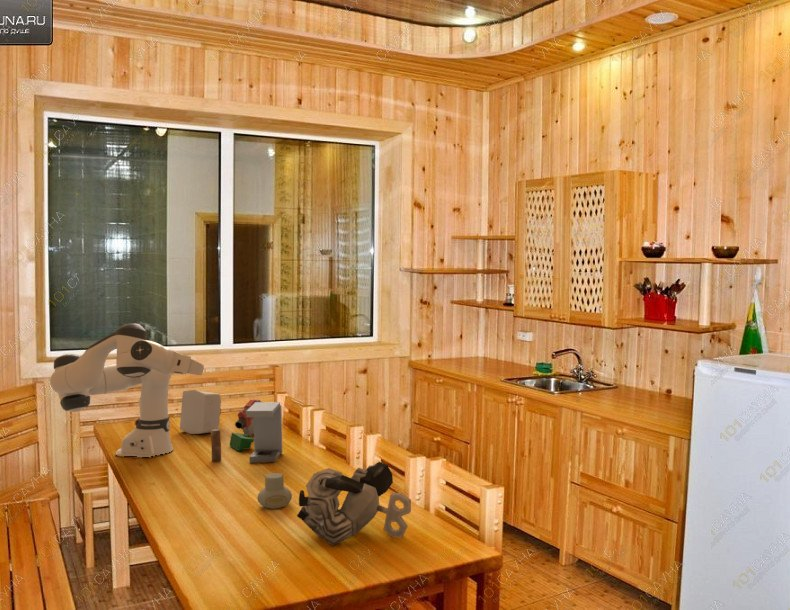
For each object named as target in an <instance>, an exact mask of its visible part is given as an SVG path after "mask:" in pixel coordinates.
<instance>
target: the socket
mask: <svg viewBox="0 0 790 610" xmlns="http://www.w3.org/2000/svg"><path fill="white" fill-rule="evenodd" d="M279 456H280V457H281V455H280V450H255V451H254V450H253V452H252V453H251V454H250V455H249V464H260V463H259V462H276V463H277V461H278V460H277V459H279V458H280V457H279ZM278 457H279V458H278Z"/></svg>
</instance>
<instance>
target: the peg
mask: <svg viewBox="0 0 790 610" xmlns="http://www.w3.org/2000/svg"><path fill="white" fill-rule="evenodd" d="M210 437H211V438H210V441H211V442H210V443H211V446H210V447H211V461H212V462H214V463H215V462H216V463H217V461H218V462H221V461H222V441H221V439H222V438H221V437H222V436H221V429H219V428H218V429H215V430H211V432H210Z"/></svg>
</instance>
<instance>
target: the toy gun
mask: <svg viewBox="0 0 790 610" xmlns="http://www.w3.org/2000/svg"><path fill="white" fill-rule="evenodd" d="M255 402H262V401H261V400H260V399H257V398H256V399H255V398H254V399H249V400H248V401H247V403H246V404H245V405H244V406H243V408H242V409H240V410H239V412H238V413H237V417H238V419H237V421H235V423H234V426H235V428H236V429H238V430H240V429H241V430H242V432H243V434H246V435H248V436H249V438H251V437H252V436H254V435H253V434H254V418H253V417H247V415H246V411H247V410H248V409H249V408H250V407H251V406H252V405H253V404H254V403H255Z"/></svg>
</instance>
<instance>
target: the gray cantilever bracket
mask: <svg viewBox="0 0 790 610" xmlns="http://www.w3.org/2000/svg"><path fill="white" fill-rule="evenodd" d="M282 414H283V413H282V405H281V402H279V401H274V402H272V401H270V402H269V401H268V402H267V401H265V402H262V401H261V402H255V403H254V404H253V405H252V406H251V407H250V408H249V409H248V410H247V411H246V415H247V417H253V418H254V435H253V439H254V441H253V445H254V447H253V448H254V450H253V452H254V451H255V450H280V454H282V453H284V452H283V422H282V420H283V419H282V418H283V417H282ZM282 455H283V454H282Z"/></svg>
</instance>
